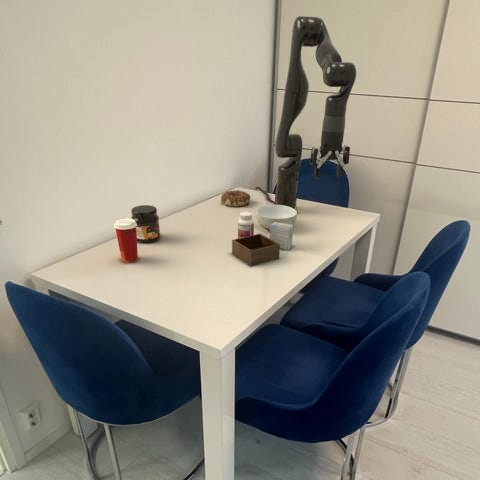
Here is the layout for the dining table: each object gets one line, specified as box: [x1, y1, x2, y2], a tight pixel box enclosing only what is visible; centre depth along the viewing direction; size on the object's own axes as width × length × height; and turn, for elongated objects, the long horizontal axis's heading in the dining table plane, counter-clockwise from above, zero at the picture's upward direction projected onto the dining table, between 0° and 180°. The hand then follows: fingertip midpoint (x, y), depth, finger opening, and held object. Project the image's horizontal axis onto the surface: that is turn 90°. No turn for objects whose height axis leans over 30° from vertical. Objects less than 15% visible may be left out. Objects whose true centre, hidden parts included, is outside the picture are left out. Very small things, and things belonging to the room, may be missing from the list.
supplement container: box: [130, 204, 161, 244], centre depth 177 cm, size 10×10×12 cm
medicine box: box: [268, 222, 294, 251], centre depth 172 cm, size 8×4×9 cm, turn 65°
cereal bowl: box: [255, 204, 298, 230], centre depth 190 cm, size 17×17×7 cm
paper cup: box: [113, 218, 139, 264], centre depth 159 cm, size 8×8×14 cm
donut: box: [220, 189, 251, 207], centre depth 218 cm, size 14×14×5 cm
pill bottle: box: [237, 211, 255, 239], centre depth 176 cm, size 6×6×11 cm
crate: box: [231, 233, 281, 267], centre depth 165 cm, size 12×12×6 cm
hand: (327, 177), depth 165 cm, fingers open, 8 cm apart
